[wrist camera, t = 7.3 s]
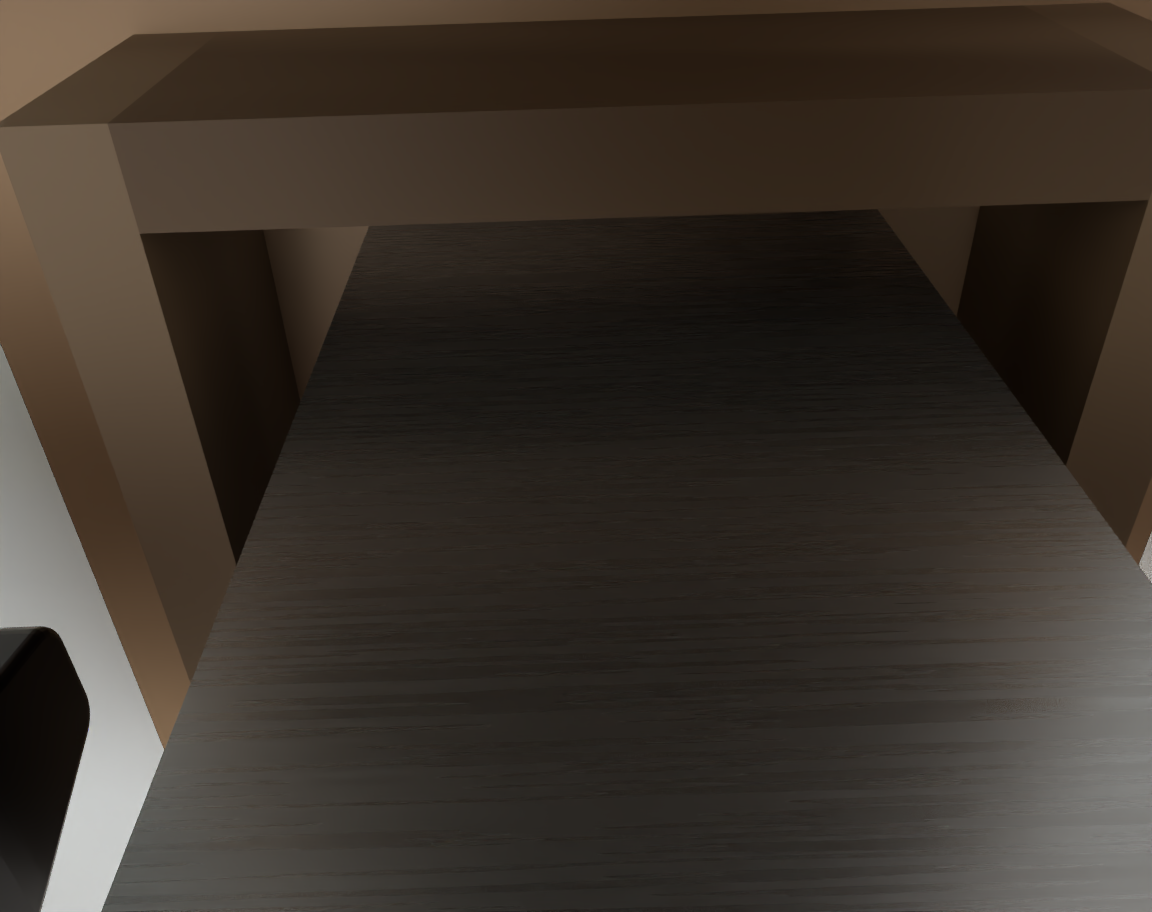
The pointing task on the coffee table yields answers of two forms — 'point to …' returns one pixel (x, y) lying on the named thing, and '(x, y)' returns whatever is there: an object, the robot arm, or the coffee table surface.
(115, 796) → the coffee table surface
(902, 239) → the pallet
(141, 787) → the coffee table surface
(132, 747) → the coffee table surface
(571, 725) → the block
